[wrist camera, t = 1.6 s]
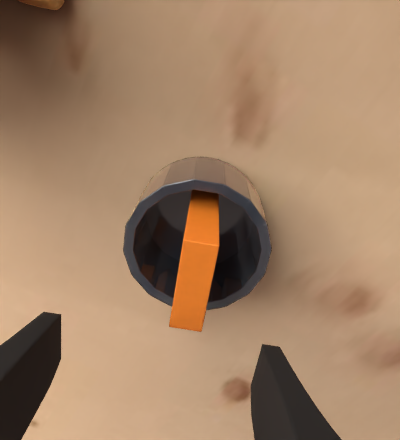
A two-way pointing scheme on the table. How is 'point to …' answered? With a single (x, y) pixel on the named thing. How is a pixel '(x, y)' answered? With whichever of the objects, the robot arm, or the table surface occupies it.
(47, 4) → the stuffed squirrel
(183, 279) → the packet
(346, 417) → the table surface
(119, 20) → the table surface
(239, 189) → the cup
